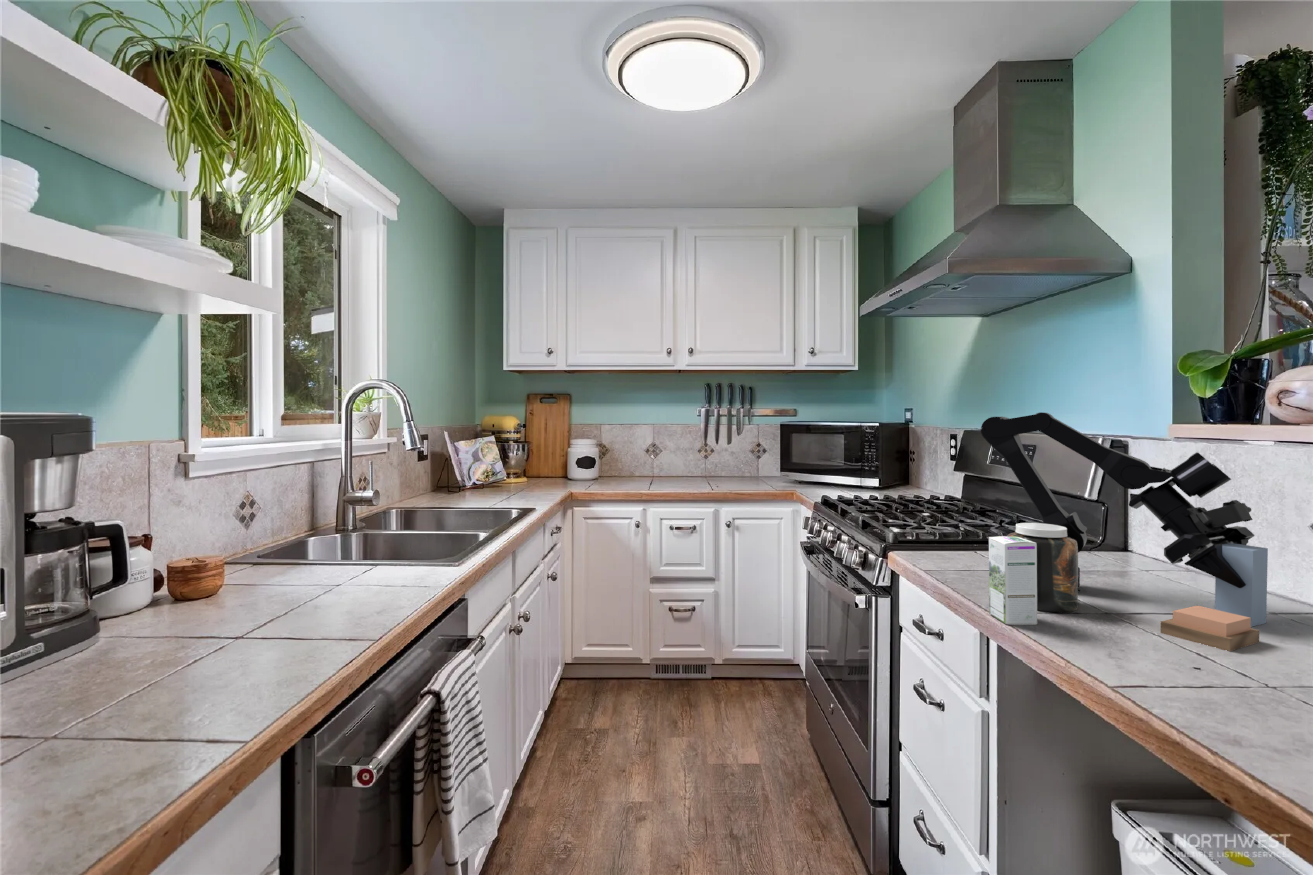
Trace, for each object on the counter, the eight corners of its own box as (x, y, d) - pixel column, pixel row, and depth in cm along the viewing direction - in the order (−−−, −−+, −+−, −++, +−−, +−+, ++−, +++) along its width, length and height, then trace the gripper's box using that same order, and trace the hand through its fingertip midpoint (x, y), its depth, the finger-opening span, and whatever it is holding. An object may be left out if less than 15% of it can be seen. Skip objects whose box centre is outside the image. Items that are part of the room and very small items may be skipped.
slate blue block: (1251, 626, 103) (1253, 550, 102) (1214, 618, 107) (1216, 545, 107) (1266, 622, 105) (1267, 548, 104) (1229, 614, 109) (1230, 543, 109)
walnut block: (1229, 655, 92) (1229, 639, 92) (1160, 636, 100) (1160, 621, 100) (1259, 645, 96) (1259, 630, 96) (1190, 628, 104) (1190, 614, 104)
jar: (1011, 609, 114) (1012, 529, 113) (1000, 592, 125) (1000, 520, 124) (1086, 615, 110) (1086, 533, 109) (1067, 597, 121) (1067, 522, 120)
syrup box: (1038, 625, 105) (1039, 541, 104) (1004, 625, 105) (1004, 542, 105) (1019, 614, 111) (1020, 535, 110) (987, 614, 111) (987, 535, 110)
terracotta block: (1226, 636, 93) (1226, 623, 93) (1172, 622, 100) (1172, 610, 100) (1250, 630, 96) (1250, 617, 96) (1197, 617, 102) (1197, 605, 102)
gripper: (1185, 488, 105) (1269, 565, 95) (1240, 483, 113) (1323, 553, 103) (1133, 526, 113) (1206, 601, 103) (1189, 519, 120) (1261, 587, 110)
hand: (1251, 584), depth 105 cm, fingers closed on slate blue block, 5 cm apart
